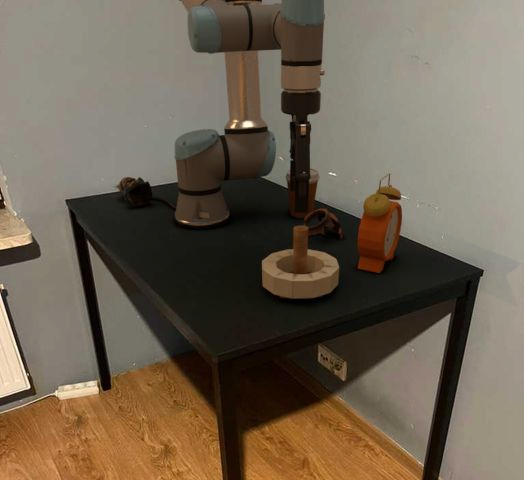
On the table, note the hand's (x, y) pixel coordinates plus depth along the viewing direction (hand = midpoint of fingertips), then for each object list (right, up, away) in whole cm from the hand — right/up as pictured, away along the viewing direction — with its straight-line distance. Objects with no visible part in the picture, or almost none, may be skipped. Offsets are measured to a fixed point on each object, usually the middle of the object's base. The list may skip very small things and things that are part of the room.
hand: (298, 201), depth 115 cm
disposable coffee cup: (+4, +8, +43) cm, 44 cm away
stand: (0, -18, +4) cm, 18 cm away
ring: (0, -16, +3) cm, 17 cm away
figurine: (-47, +15, +55) cm, 74 cm away
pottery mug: (+8, -1, +29) cm, 30 cm away
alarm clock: (+19, -11, +14) cm, 26 cm away
